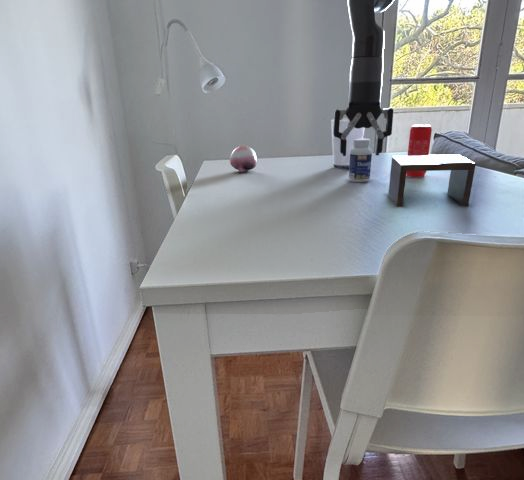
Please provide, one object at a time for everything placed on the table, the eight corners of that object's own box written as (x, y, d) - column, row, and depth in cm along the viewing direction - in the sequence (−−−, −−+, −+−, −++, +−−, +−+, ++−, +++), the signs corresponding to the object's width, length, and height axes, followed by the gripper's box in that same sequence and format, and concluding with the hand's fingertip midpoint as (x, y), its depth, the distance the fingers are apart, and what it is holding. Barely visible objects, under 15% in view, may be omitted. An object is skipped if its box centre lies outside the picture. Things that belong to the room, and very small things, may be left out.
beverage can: (402, 176, 123) (407, 126, 117) (409, 173, 127) (414, 124, 121) (421, 178, 120) (428, 126, 114) (428, 174, 124) (435, 124, 118)
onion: (260, 169, 141) (259, 143, 137) (253, 174, 134) (252, 147, 131) (234, 169, 142) (233, 144, 139) (227, 174, 136) (225, 147, 132)
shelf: (452, 193, 104) (459, 153, 100) (468, 205, 94) (476, 162, 90) (388, 194, 105) (392, 155, 101) (396, 206, 95) (401, 163, 91)
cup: (369, 166, 140) (372, 118, 133) (350, 170, 134) (353, 121, 127) (341, 163, 146) (343, 117, 139) (322, 167, 140) (323, 120, 133)
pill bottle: (356, 183, 118) (358, 141, 113) (344, 180, 122) (346, 139, 117) (374, 181, 119) (377, 139, 115) (361, 177, 124) (364, 137, 119)
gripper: (335, 81, 107) (332, 158, 115) (399, 79, 106) (392, 156, 114) (334, 81, 113) (331, 154, 122) (394, 79, 112) (387, 152, 120)
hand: (360, 155), depth 118 cm, fingers open, 7 cm apart
